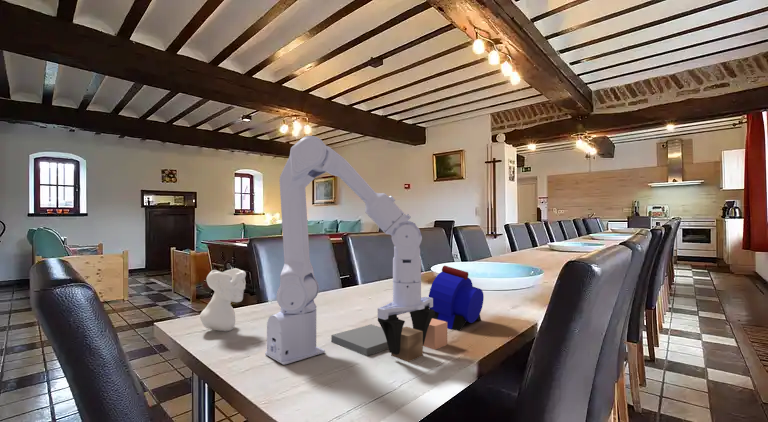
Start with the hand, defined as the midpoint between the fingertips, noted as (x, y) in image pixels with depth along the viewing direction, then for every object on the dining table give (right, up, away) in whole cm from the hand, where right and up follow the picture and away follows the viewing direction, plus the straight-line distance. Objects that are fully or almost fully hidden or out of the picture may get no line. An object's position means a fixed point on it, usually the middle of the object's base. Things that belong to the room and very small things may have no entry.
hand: (407, 348), depth 73 cm
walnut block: (0, -2, 0) cm, 2 cm away
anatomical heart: (-44, -2, +17) cm, 47 cm away
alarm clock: (+15, -2, +23) cm, 28 cm away
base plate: (-8, -2, +8) cm, 12 cm away
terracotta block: (+6, -2, +7) cm, 9 cm away
